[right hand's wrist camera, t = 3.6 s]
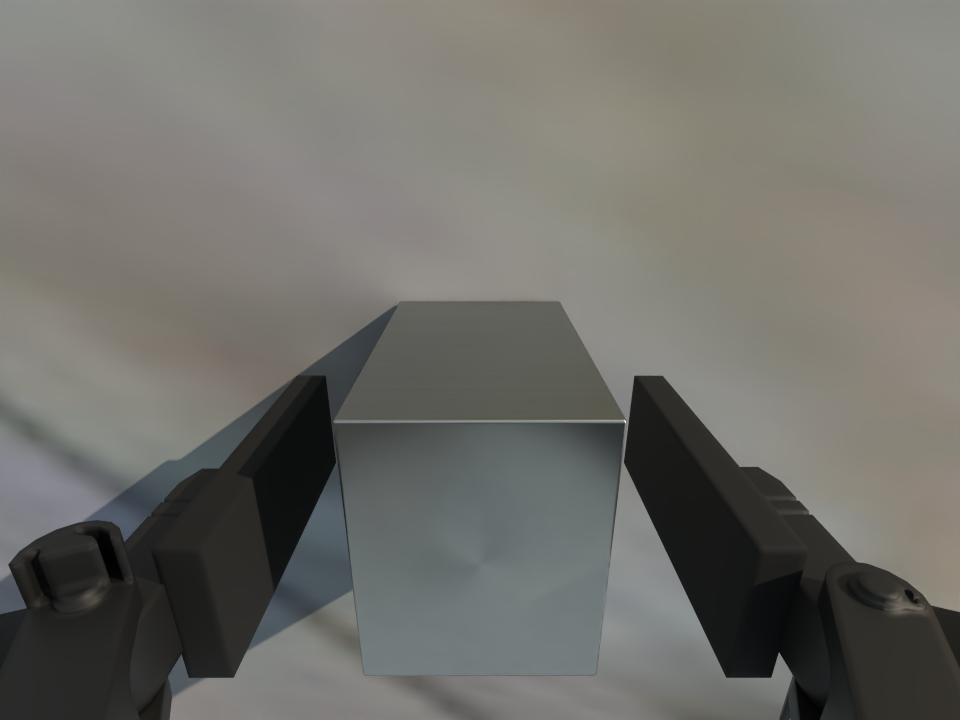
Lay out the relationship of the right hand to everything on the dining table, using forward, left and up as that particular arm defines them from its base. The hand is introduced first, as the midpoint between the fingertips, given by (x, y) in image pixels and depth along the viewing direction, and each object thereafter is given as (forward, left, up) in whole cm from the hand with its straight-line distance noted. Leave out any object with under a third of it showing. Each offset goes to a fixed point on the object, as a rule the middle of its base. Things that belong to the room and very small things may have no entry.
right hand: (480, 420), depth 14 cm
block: (0, 0, -2) cm, 2 cm away
